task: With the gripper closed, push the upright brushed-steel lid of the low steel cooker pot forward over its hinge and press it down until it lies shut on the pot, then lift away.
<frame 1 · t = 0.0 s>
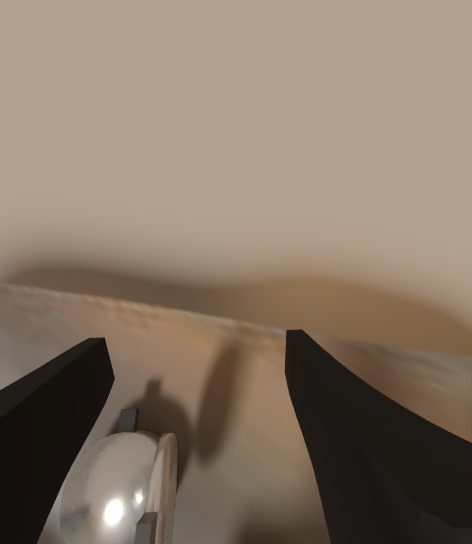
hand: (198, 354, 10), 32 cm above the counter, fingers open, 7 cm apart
cooker pot: (130, 483, 34), on the counter
cooker lid: (160, 512, 23), point 12 cm above the counter, hinge at 95.0°
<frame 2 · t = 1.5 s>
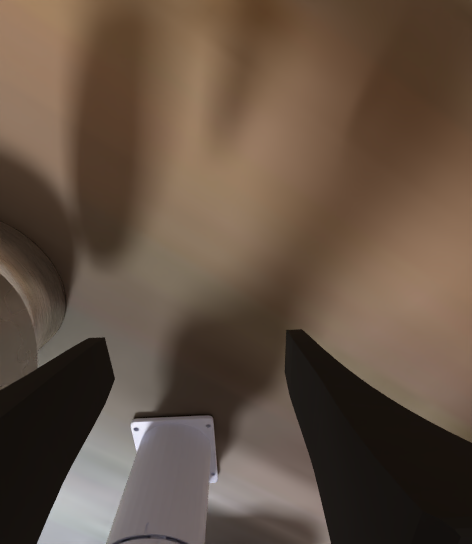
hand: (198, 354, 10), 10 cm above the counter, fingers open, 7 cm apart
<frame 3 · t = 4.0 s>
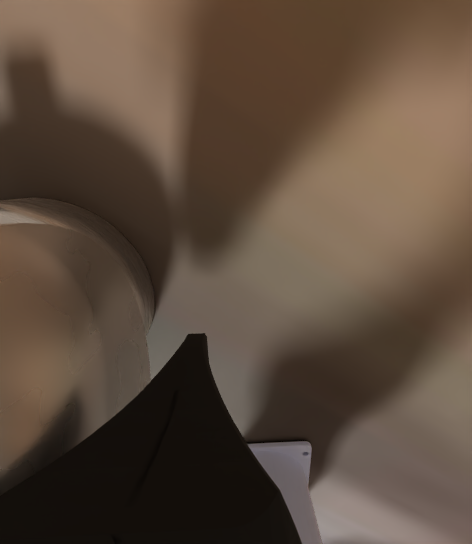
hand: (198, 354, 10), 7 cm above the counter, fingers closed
cooker pot: (60, 294, 16), on the counter
cooker lid: (25, 538, 5), point 12 cm above the counter, hinge at 92.5°, touching gripper
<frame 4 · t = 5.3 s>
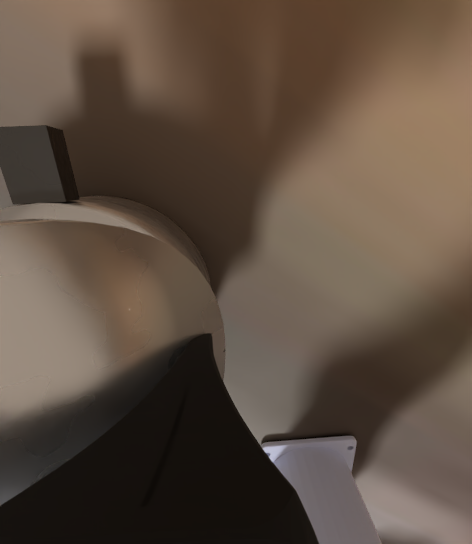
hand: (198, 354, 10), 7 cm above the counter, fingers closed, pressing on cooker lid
cooker pot: (116, 294, 16), on the counter
cooker lid: (28, 493, 6), point 11 cm above the counter, hinge at 53.8°, touching gripper
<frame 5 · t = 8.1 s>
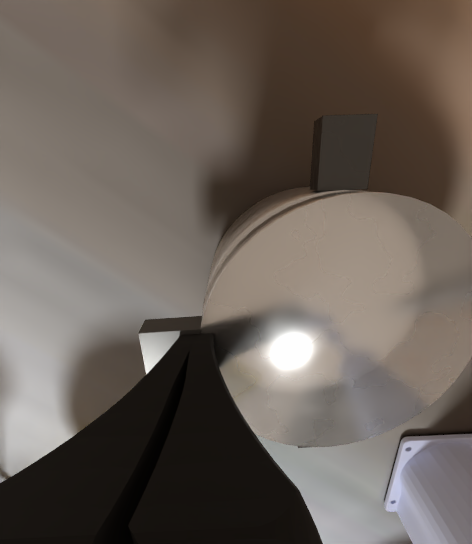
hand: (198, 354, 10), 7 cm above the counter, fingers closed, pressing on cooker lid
cooker pot: (303, 284, 16), on the counter
cooker lid: (315, 339, 11), point 6 cm above the counter, hinge at 3.1°, touching gripper
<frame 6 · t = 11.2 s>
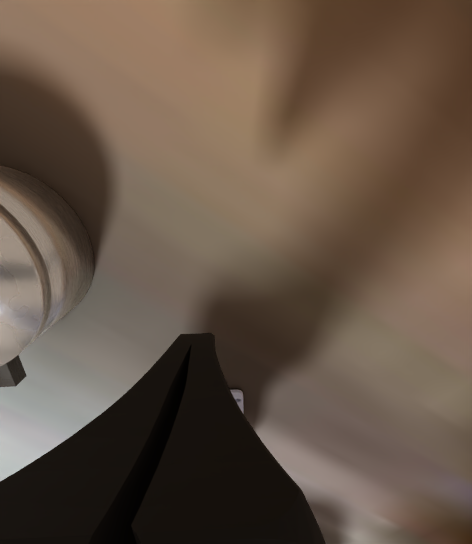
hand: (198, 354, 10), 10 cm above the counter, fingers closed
cooker pot: (11, 250, 19), on the counter
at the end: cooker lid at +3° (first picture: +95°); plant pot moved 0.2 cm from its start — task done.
